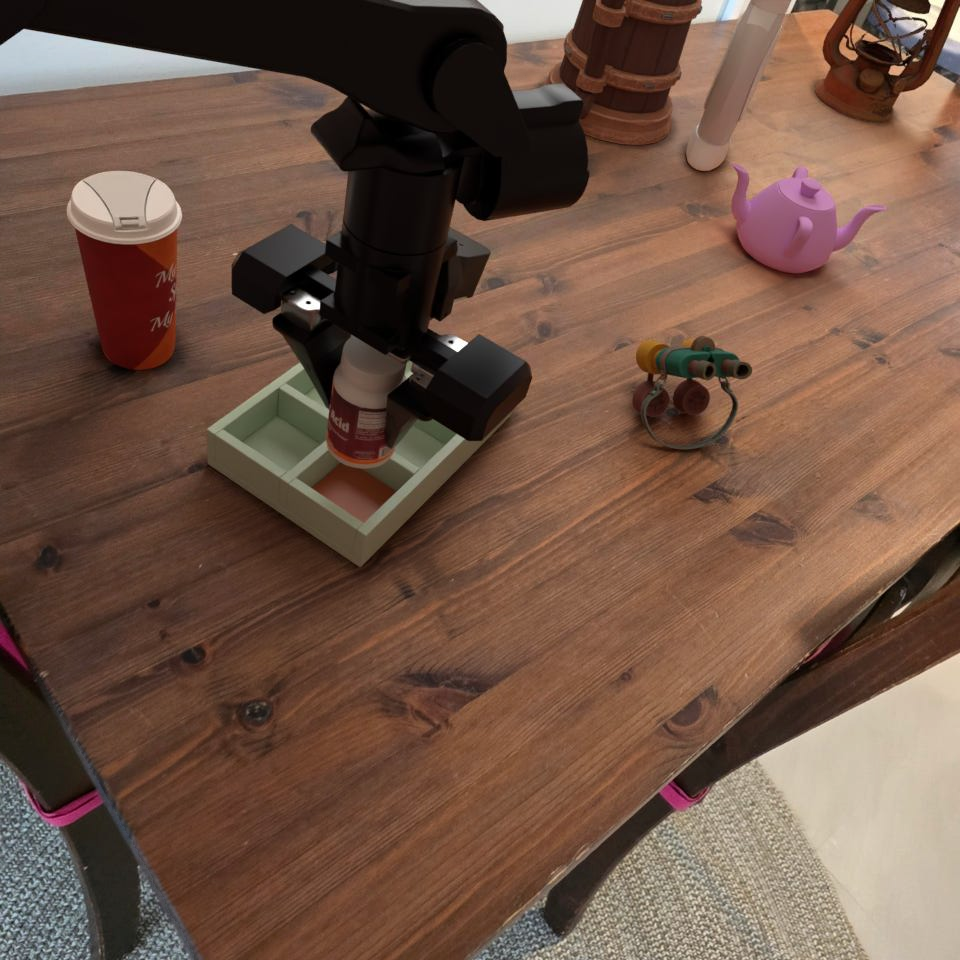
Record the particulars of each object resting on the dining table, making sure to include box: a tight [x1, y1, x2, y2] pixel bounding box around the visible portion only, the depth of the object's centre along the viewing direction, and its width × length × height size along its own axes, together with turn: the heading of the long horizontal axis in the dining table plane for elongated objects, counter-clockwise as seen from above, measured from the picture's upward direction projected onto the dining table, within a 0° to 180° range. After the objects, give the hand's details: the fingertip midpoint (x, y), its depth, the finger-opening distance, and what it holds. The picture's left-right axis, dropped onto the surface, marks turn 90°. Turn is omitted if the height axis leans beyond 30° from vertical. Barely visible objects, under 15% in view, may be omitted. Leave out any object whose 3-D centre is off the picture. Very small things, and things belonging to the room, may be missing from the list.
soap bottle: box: [685, 0, 792, 172], centre depth 108 cm, size 13×8×24 cm, turn 157°
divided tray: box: [206, 335, 514, 568], centre depth 70 cm, size 14×21×4 cm
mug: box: [541, 0, 703, 146], centre depth 111 cm, size 18×23×20 cm
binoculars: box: [631, 335, 753, 450], centre depth 76 cm, size 9×9×10 cm
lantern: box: [814, 0, 960, 124], centre depth 130 cm, size 17×13×30 cm
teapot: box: [730, 162, 888, 274], centre depth 101 cm, size 12×14×9 cm
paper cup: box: [66, 170, 183, 371], centre depth 68 cm, size 8×8×14 cm
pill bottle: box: [326, 336, 407, 468], centre depth 58 cm, size 5×5×8 cm
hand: (363, 425), depth 59 cm, fingers closed on pill bottle, 5 cm apart
